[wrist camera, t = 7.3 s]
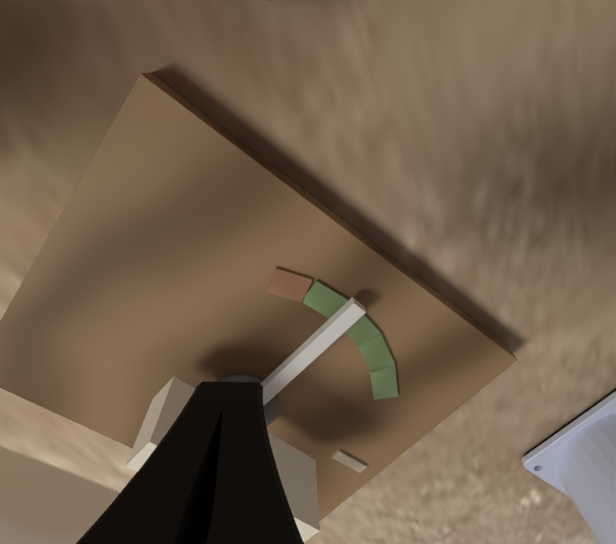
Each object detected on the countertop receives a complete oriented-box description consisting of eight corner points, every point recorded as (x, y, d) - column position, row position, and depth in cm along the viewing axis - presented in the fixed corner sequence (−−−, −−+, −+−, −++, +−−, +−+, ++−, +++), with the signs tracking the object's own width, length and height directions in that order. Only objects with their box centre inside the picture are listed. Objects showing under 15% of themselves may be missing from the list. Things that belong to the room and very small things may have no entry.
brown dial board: (505, 344, 21) (520, 363, 20) (308, 510, 27) (309, 534, 25) (150, 72, 15) (137, 73, 14) (-13, 357, 20) (-34, 378, 19)
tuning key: (286, 244, 16) (284, 306, 12) (420, 351, 19) (456, 432, 15) (155, 384, 19) (119, 472, 15) (288, 460, 22) (287, 553, 18)
